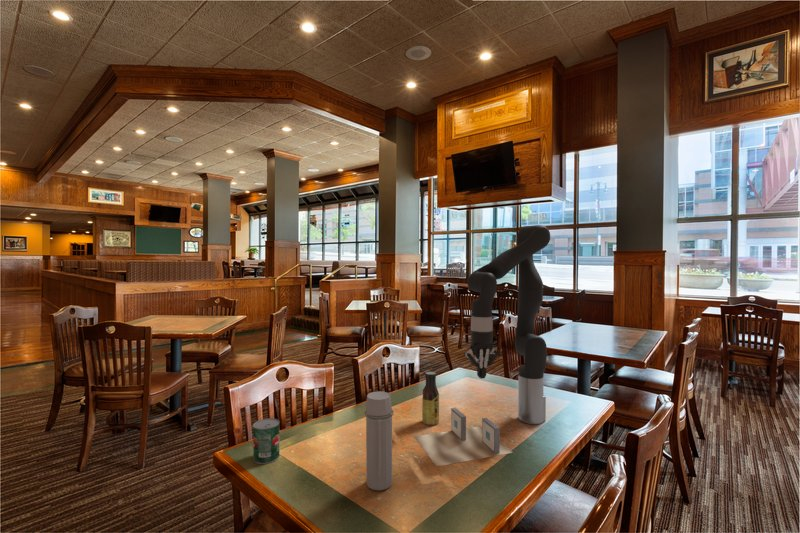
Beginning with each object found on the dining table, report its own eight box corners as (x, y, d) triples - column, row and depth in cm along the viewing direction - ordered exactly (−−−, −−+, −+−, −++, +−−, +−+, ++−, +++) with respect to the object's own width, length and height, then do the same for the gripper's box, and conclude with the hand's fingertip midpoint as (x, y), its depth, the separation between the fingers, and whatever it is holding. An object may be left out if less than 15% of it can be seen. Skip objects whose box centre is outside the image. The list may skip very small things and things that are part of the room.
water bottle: (365, 477, 110) (364, 391, 109) (392, 476, 110) (392, 390, 110) (365, 497, 100) (364, 403, 100) (394, 496, 101) (394, 402, 100)
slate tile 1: (455, 429, 136) (455, 407, 136) (465, 440, 129) (466, 416, 129) (450, 430, 136) (450, 408, 136) (461, 440, 128) (461, 417, 128)
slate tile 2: (486, 441, 128) (486, 417, 128) (499, 453, 120) (499, 427, 120) (481, 442, 127) (481, 418, 127) (494, 453, 120) (494, 428, 120)
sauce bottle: (438, 430, 139) (438, 376, 139) (421, 429, 141) (421, 375, 140) (439, 422, 146) (439, 371, 145) (423, 421, 147) (423, 370, 147)
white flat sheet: (480, 430, 140) (480, 426, 140) (512, 457, 121) (512, 452, 121) (413, 440, 132) (413, 436, 132) (436, 471, 113) (436, 466, 113)
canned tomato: (250, 456, 122) (249, 422, 121) (274, 448, 126) (274, 415, 126) (257, 467, 115) (257, 431, 115) (283, 458, 120) (283, 424, 120)
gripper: (492, 326, 140) (492, 373, 140) (459, 328, 136) (459, 376, 136) (504, 329, 133) (503, 379, 133) (470, 332, 129) (469, 383, 129)
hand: (481, 377), depth 135 cm, fingers closed
